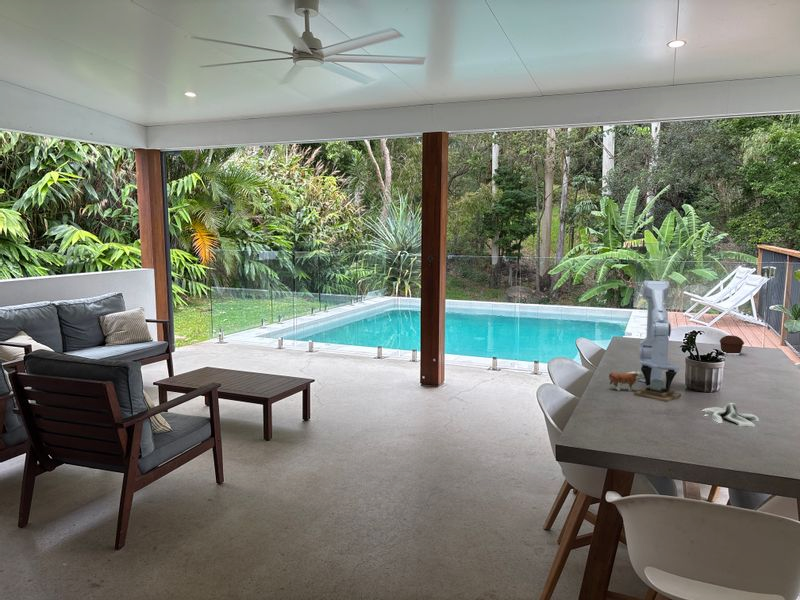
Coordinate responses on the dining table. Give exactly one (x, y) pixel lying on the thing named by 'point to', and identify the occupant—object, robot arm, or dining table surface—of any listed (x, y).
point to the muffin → (731, 344)
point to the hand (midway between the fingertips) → (657, 386)
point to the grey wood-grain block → (658, 386)
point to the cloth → (731, 415)
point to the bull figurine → (625, 379)
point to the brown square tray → (658, 394)
